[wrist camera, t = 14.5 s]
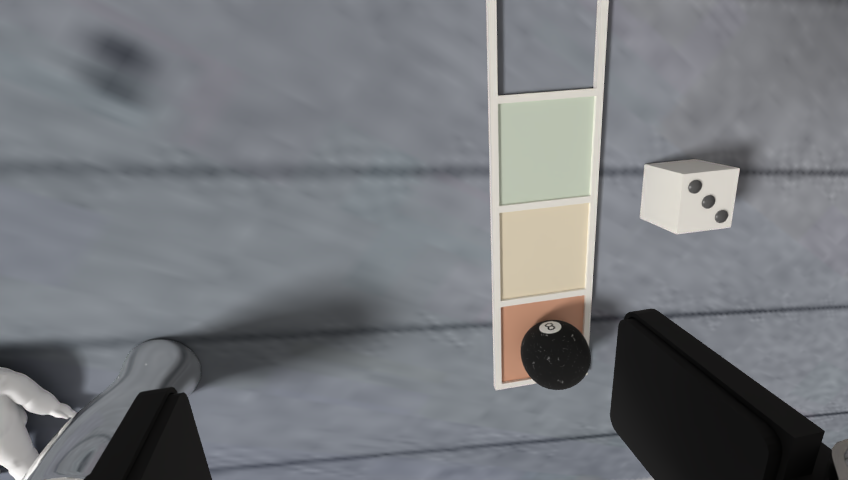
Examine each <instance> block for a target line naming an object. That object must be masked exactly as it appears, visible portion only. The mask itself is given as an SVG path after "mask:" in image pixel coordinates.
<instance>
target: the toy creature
mask: <svg viewBox="0 0 848 480" xmlns="http://www.w3.org/2000/svg"><path fill="white" fill-rule="evenodd" d="M19 404H20V405H22V406H23V407H24V408H25V409H26V410H27V411H29V412H32V413H35V414H39V415H46V414H49V415H52V416H54V417H56V418H65V419H68V418H69V417H73V416H74V415H75V414H76V413H77V412H75V411H74V410H72V409H71V407H70V406H69V405H67V404H64V403H60V402H59V401H58V400H57V398H56V397H55V396H54V395H53V394H52V393H50V392H48V391H47V390H44V389H43V388H42V387H41V386H39V385H38V384H37V383H36V382H35V381H33V380H32V379H31V378H29V377H28V376H26V375H25V374H22V373H19V372H16V371H13V370H11V369H8V368H4V367H0V465H2V466H4V467H5V468H6V469H8V470H9V473H10V474H11V475H12V476H13V477H14V478H15V479H16V480H22V479H23V477H24V476H25V474H26V473H27V471H28V470H29V468H30V467H31V465H32V464H33V463H34V461H35V460H36V458H37V457H38V456H39V454H38V451H37V450H36V449H35V448H34V447H33V444H32V441H31V439H30V436H29V434H28V431H27V429H26V427H25V425H26V423H27V414H26V412H25V410H24V409H23V408H22V406H20V405H19ZM0 473H1V471H0Z"/></svg>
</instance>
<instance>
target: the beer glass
mask: <svg viewBox="0 0 848 480" xmlns="http://www.w3.org/2000/svg"><path fill="white" fill-rule="evenodd" d="M200 377H201V366H200V362H199V360H198V358H197V357H196V355H195V354H194V353H193V352H192V351H191V350H190V349H189V348H188V347H186V346H185V345H183V344H181V343H178V342H176V341H172V340H167V339H155V340H149V341H146V342H143V343H141V344H139V345H138V346H136V347H135V348H133V349H132V350H131V351H130V352H129V354H128V355H127V357H126V359H125V361H124V363H123V365H122V368H121V371H120V373H119V375H118V377H117V378H116V379H115V381H114V382H113V383H112V384H111V385H110V386H108V387H107V388H106V389H105V390H104V391H103V392H101V393H100V394H99V395H98V396H96V397H95V398H94V399H93V400H92V401H90V402H89V403H88V404H87V405H86V406H84V407H83V408H82V409H81V410H80V411H79V412H77V413H76V414H75V415H74V416H73V417H72V418H71V419H70V420H69V421H68V422H67V423H66V424H65V425H64V426H63V427H62V428H61V429H60V430H59V431H58V432H57V434H56V435H55V436H54V437H53V438H52V439H51V440H50V442H49V443H48V444H47V445H46V447H45V448H44V449H43V450H42V452H41V453H40V454H39V456H38V457H37V458H36V460H35V461H34V463H33V464H32V465H31V467H30V468H29V470H28V471H27V473H26V474H25V476H24V477H23V479H22V480H84V478H85V477H86V476H87V475H89V474H90V473H91V472H92V470H93V468H94V467H95V465H96V463H97V462H98V460H99V458H100V457H101V455H102V453H103V452H104V450H105V448H106V447H107V445H108V443H109V442H110V440H111V438H112V437H113V435H114V433H115V432H116V430H117V428H118V427H119V425H120V423H121V421H122V420H123V418H124V416H125V415H126V413H127V411H128V410H129V408H130V406H131V405H132V403H133V401H134V400H135V398H136V396H137V395H138V394H139V393H140V392H142V391H148V390H154V389H161V388H167V387H174V388H175V389H176V390H177V392H178V393H182V392H184V393H186V395H187V397H189V396H190V394H191V393H192V392H193V391H194V389H195V388H196V387H197V385H198V383H199V381H200Z"/></svg>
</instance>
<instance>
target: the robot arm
mask: <svg viewBox="0 0 848 480" xmlns="http://www.w3.org/2000/svg"><path fill="white" fill-rule="evenodd" d="M610 418H611V422H612V425H613V427H614V429H615V431H616V432H617V434H618V435H619V436H620V437H621V439H622V440H623V441H624V442H625V444H626V445H627V446H628V447H629V449H630V450H631V451H632V452H633V454H634V455H635V456H636V457H637V459H638V460H639V461H640V462H641V464H642V465H643V466H644V467H645V468H646V470H647V471H648V472H649V473H650V475H651V476H652V477H653V478H654V480H848V439H846V440H843V441H840V442H837V443H836V444H835V445H834V447H833V448H832V450H831V449H830V448H829V447H827V446H826V445H825V444H823V443H822V439H823V435H824V432H825V431H824V430H822V429H821V428H820V427H818V426H817V425H816V424H814V423H813V422H811V421H810V420H809V419H807V418H806V417H804V416H803V415H802V414H800V413H799V412H797V411H796V410H795V409H793V408H792V407H791V406H789V405H788V404H786V403H785V402H784V401H782V400H781V399H779V398H778V397H777V396H775V395H774V394H772V393H771V392H770V391H768V390H767V389H766V388H764V387H763V386H761V385H760V384H759V383H757V382H756V381H754V380H753V379H752V378H750V377H749V376H747V375H746V374H745V373H743V372H742V371H741V370H739V369H738V368H736V367H735V366H734V365H732V364H731V363H729V362H728V361H727V360H725V359H724V358H722V357H721V356H720V355H718V354H717V353H716V352H714V351H713V350H711V349H710V348H709V347H707V346H706V345H704V344H703V343H702V342H700V341H699V340H697V339H696V338H695V337H693V336H692V335H691V334H689V333H688V332H686V331H685V330H684V329H682V328H681V327H679V326H678V325H677V324H675V323H674V322H672V321H671V320H670V319H668V318H667V317H666V316H664V315H663V314H661V313H660V312H659V311H657V310H655V309H646V310H640V311H634V312H629V313H627V314H626V315H625V317H624V320H621V321H620V323H619V326H618V336H617V347H616V358H615V368H614V379H613V389H612V400H611V410H610ZM84 480H212V478H211V475H210V471H209V468H208V464H207V461H206V458H205V454H204V451H203V447H202V444H201V441H200V437H199V434H198V430H197V427H196V423H195V420H194V417H193V413H192V410H191V406H190V403H189V400H188V397H187V395H186V393H184V392H182V393H178V392H177V390H176V389H175V388H174V387H167V388H161V389H154V390H148V391H142V392H140V393H139V394H138V395H137V396H136V398H135V400H134V401H133V403H132V405H131V406H130V408H129V410H128V411H127V413H126V415H125V416H124V418H123V420H122V421H121V423H120V425H119V427H118V428H117V430H116V432H115V433H114V435H113V437H112V438H111V440H110V442H109V443H108V445H107V447H106V448H105V450H104V452H103V453H102V455H101V457H100V458H99V460H98V462H97V463H96V465H95V467H94V468H93V470H92V472H91V473H90V474H89V475H87V476H86V477H85V478H84Z"/></svg>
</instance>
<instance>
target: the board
mask: <svg viewBox="0 0 848 480" xmlns="http://www.w3.org/2000/svg"><path fill="white" fill-rule="evenodd" d="M608 5H609V0H598V1H597V21H596V41H595V61H594V81H593V88H590V89H577V90H564V91H551V92H538V93H525V94H512V95H499V96H498V81H497V9H496V0H486V18H487V67H488V116H489V165H490V214H491V263H492V313H493V362H494V387H495V389H496V390H500V389H506V388H512V387H518V386H524V385H530V384H536V382H535V381H533V380H532V379H531V377H530V376H529V375H528V374H527V372H526V370H525V368H524V366H523V363H522V360H521V352H520V350H521V343H522V340H523V337H524V335H525V334H526V332H527V331H528V330H529V329H530V328H531V327H533V326H534V325H536V324H537V323H540V322H542V321H546V320H560V321H565V322H567V323H570V324H571V325H573V326H575V327H576V328H577V329H578V330H579V331H580V332H581V333H582V335H583V336H584V337H585V339H586V341H587V343H588V346H589V337H590V320H591V302H592V285H593V267H594V250H595V232H596V215H597V197H598V180H599V162H600V145H601V127H602V110H603V92H604V75H605V57H606V40H607V22H608ZM586 375H587V374H586Z"/></svg>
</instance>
